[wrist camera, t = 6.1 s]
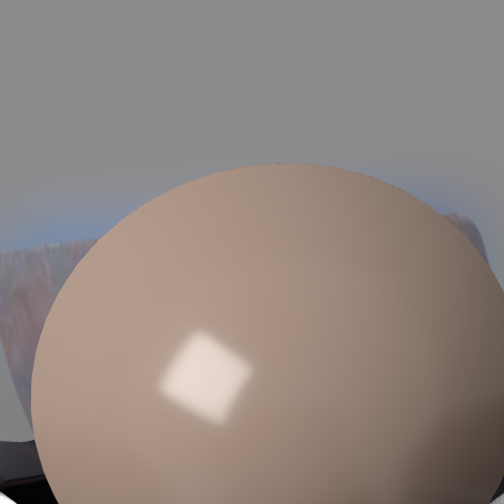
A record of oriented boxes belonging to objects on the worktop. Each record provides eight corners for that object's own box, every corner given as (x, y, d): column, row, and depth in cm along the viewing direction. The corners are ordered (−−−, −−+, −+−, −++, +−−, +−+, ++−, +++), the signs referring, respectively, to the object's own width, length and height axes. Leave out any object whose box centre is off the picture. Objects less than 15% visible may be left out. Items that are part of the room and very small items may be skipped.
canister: (322, 427, 13) (509, 547, 1) (217, 433, 13) (59, 587, 1) (316, 330, 15) (476, 150, 3) (214, 335, 15) (50, 169, 3)
